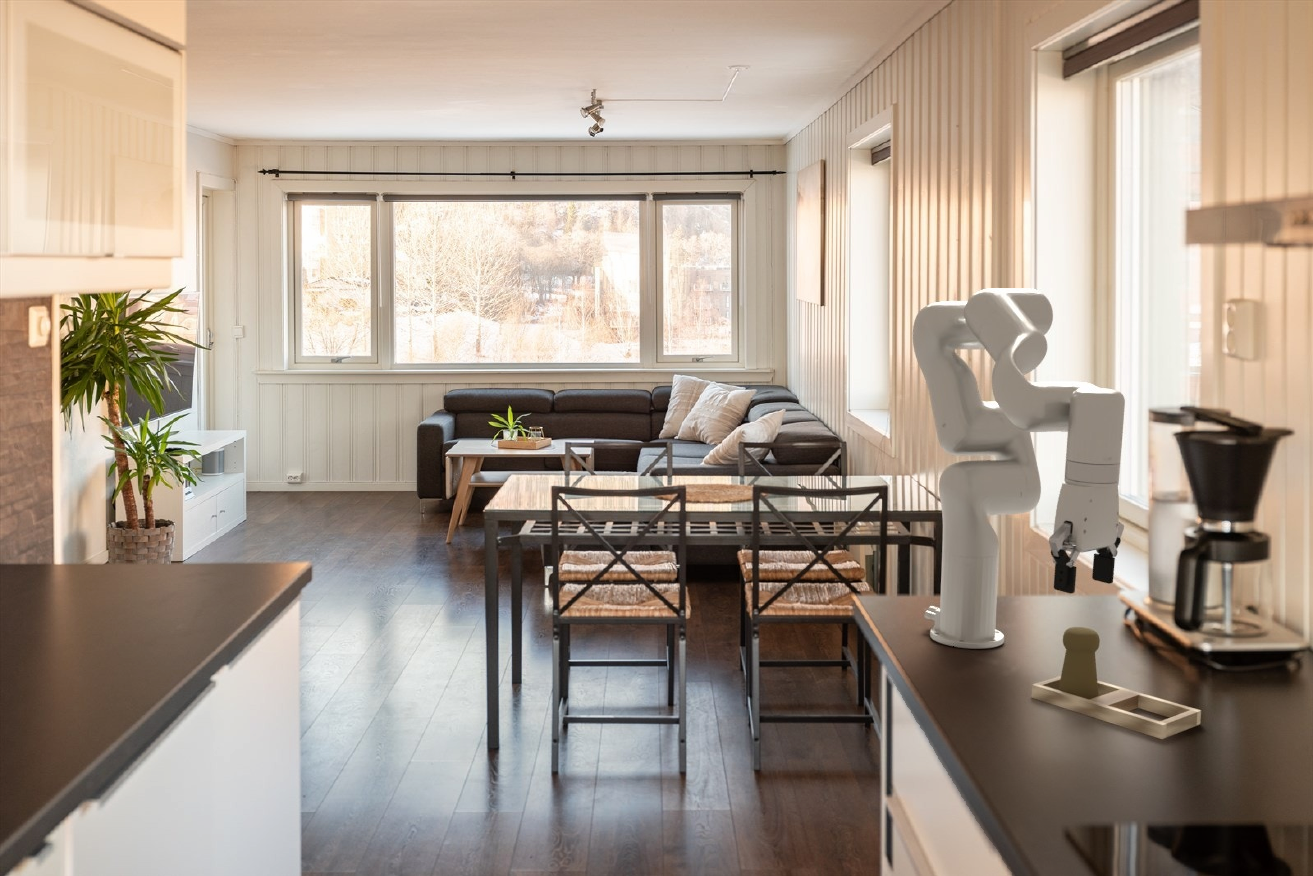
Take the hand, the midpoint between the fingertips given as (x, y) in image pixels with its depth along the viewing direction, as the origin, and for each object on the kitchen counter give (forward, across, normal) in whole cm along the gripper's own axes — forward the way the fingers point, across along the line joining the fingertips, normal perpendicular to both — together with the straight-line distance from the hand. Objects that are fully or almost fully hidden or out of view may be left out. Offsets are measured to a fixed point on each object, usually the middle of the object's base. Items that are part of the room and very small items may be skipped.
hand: (1083, 586), depth 178 cm
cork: (+18, +1, +1) cm, 18 cm away
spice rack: (+17, 0, +7) cm, 18 cm away
